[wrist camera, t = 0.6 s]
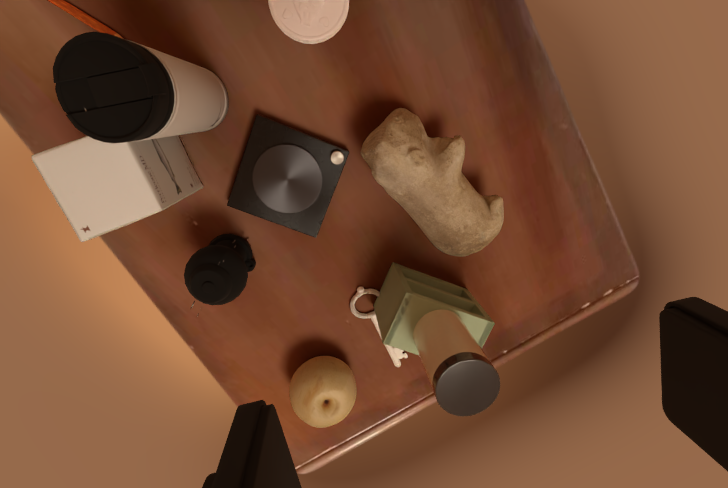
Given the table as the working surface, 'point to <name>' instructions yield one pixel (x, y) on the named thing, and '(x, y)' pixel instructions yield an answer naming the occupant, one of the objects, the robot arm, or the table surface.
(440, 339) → the jar
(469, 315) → the green box
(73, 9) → the pencil
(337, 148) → the hot plate
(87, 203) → the white packaging box
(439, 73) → the table surface
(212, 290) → the gumball machine
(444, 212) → the sculpture
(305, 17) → the smoothie
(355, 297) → the key
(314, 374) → the apple
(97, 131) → the travel mug
